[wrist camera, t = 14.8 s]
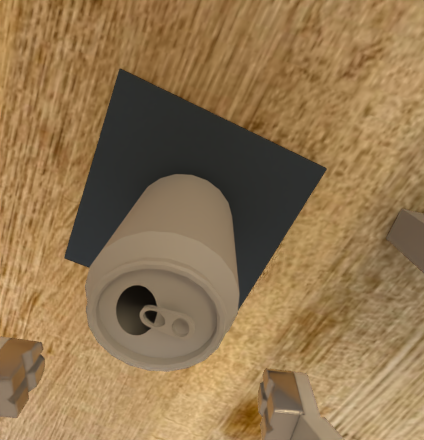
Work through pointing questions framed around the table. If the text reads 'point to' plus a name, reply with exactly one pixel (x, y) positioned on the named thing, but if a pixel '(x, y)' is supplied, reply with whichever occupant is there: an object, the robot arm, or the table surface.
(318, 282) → the table surface
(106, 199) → the mat
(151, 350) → the can
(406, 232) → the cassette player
